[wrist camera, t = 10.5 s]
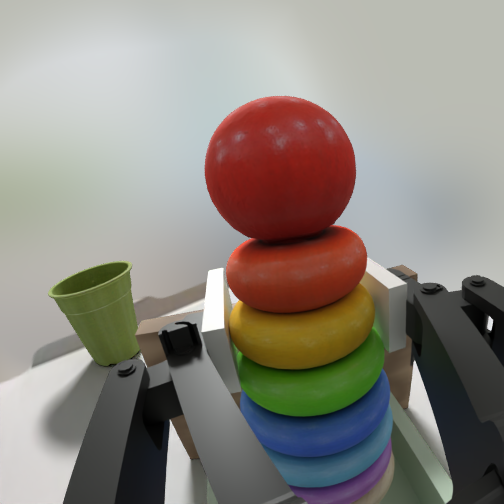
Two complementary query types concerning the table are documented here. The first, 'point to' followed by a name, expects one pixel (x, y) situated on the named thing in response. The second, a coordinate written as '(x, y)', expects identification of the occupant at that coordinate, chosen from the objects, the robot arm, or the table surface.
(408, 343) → the backstop wall
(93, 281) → the plant pot
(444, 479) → the mint green square tray
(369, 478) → the stacking toy
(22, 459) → the table surface
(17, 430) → the table surface
